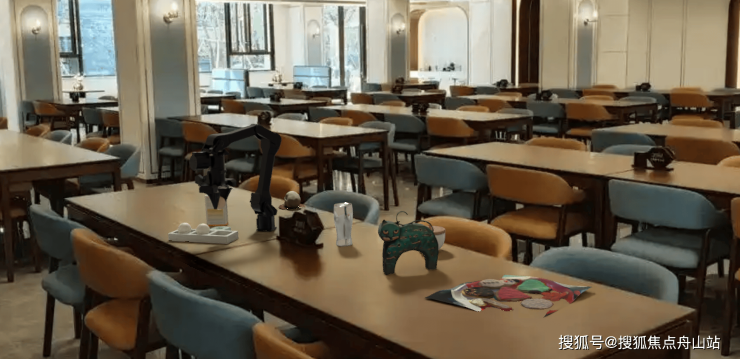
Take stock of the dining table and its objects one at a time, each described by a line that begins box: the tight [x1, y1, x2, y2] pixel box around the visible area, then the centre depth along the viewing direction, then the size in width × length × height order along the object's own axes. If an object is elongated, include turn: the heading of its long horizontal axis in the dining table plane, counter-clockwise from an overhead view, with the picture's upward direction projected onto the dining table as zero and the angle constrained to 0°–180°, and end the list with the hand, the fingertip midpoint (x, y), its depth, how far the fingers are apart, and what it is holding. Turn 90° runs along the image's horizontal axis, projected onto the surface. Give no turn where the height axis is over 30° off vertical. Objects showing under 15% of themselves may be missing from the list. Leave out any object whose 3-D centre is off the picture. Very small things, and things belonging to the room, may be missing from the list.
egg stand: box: [210, 226, 232, 231], centre depth 323 cm, size 6×6×2 cm
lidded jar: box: [426, 224, 446, 251], centre depth 287 cm, size 11×11×9 cm
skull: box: [278, 190, 306, 210], centre depth 371 cm, size 12×10×10 cm
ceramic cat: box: [377, 210, 440, 276], centre depth 261 cm, size 20×6×20 cm, turn 105°
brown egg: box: [212, 196, 226, 210], centre depth 311 cm, size 5×5×5 cm
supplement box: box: [204, 194, 229, 227], centre depth 337 cm, size 8×5×13 cm, turn 84°
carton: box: [167, 222, 239, 245], centre depth 313 cm, size 25×9×6 cm, turn 73°
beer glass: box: [333, 202, 354, 247], centre depth 298 cm, size 7×7×15 cm
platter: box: [424, 274, 592, 318], centre depth 234 cm, size 35×35×2 cm
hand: (219, 207), depth 311 cm, fingers closed on brown egg, 5 cm apart
